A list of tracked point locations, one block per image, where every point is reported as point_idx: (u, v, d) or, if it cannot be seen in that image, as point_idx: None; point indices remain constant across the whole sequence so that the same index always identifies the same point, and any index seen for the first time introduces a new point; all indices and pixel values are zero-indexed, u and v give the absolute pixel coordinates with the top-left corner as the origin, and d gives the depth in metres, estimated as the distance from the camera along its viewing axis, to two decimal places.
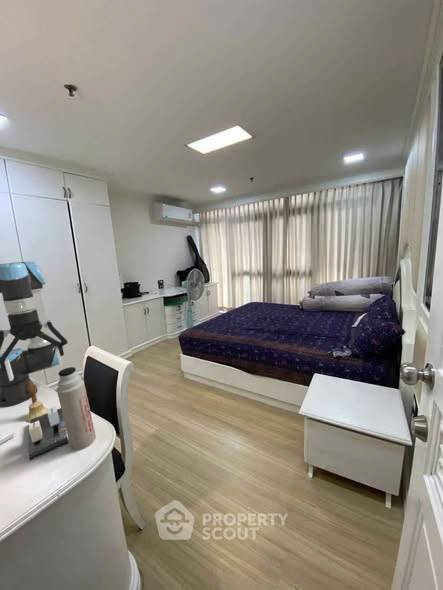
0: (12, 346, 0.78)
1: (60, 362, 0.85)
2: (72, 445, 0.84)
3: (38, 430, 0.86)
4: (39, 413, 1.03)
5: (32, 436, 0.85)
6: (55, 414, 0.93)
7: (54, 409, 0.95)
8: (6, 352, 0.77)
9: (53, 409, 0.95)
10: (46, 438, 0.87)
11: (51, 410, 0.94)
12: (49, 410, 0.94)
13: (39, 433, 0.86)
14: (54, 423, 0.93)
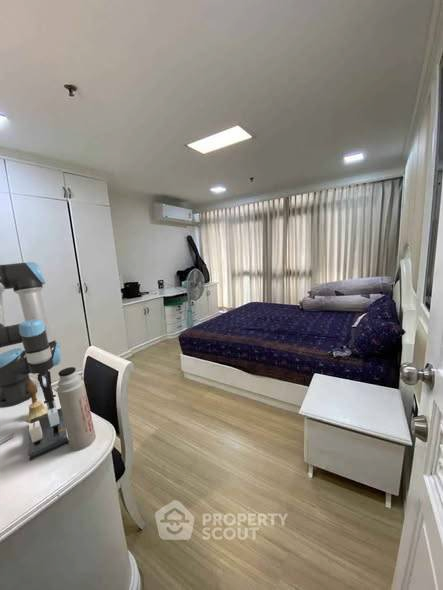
0: None
1: None
2: (72, 445, 0.84)
3: (38, 430, 0.86)
4: (39, 413, 1.03)
5: (32, 436, 0.85)
6: (55, 414, 0.93)
7: (54, 409, 0.95)
8: None
9: (53, 409, 0.95)
10: (46, 438, 0.87)
11: (51, 410, 0.94)
12: (49, 410, 0.94)
13: (39, 433, 0.86)
14: (54, 423, 0.93)
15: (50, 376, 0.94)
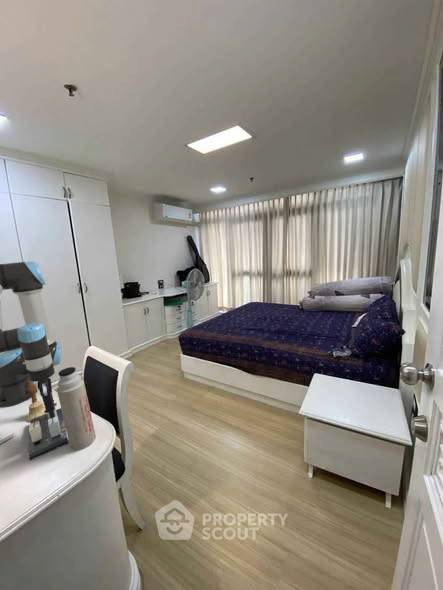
0: None
1: None
2: (72, 445, 0.84)
3: (38, 430, 0.86)
4: (39, 413, 1.03)
5: (32, 436, 0.85)
6: (56, 424, 0.87)
7: (55, 419, 0.89)
8: None
9: (54, 418, 0.89)
10: (46, 438, 0.87)
11: (52, 420, 0.88)
12: (50, 420, 0.89)
13: (39, 433, 0.86)
14: (55, 434, 0.88)
15: None
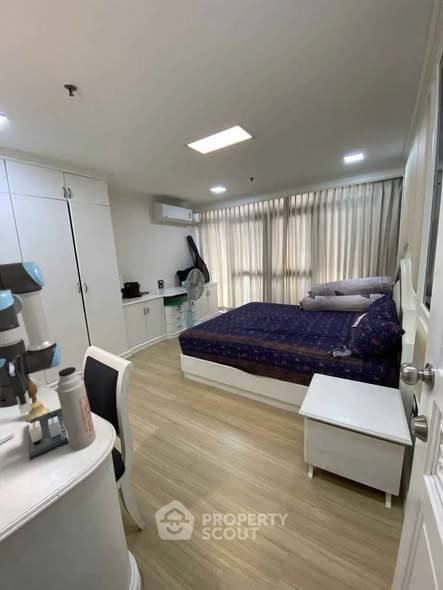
0: None
1: (20, 410, 0.77)
2: (72, 445, 0.84)
3: (38, 430, 0.86)
4: (39, 413, 1.03)
5: (32, 436, 0.85)
6: (56, 424, 0.87)
7: (55, 419, 0.89)
8: None
9: (54, 418, 0.89)
10: (46, 438, 0.87)
11: (52, 420, 0.88)
12: (50, 420, 0.89)
13: (39, 433, 0.86)
14: (55, 434, 0.88)
15: (20, 363, 0.75)
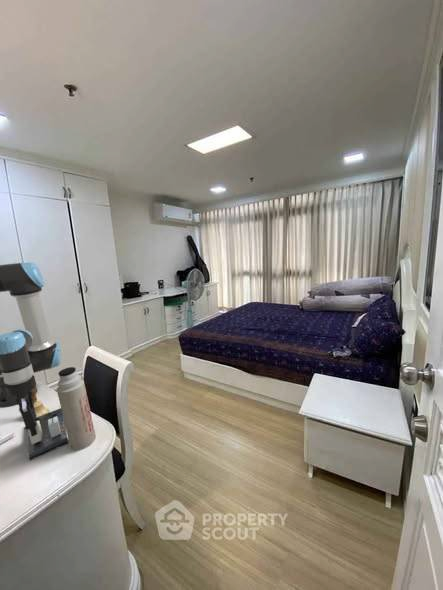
0: None
1: (31, 440, 0.83)
2: (72, 445, 0.84)
3: None
4: (39, 413, 1.03)
5: None
6: (56, 424, 0.87)
7: (55, 419, 0.89)
8: None
9: (54, 418, 0.89)
10: (46, 438, 0.87)
11: (52, 420, 0.88)
12: (50, 420, 0.89)
13: None
14: (55, 434, 0.88)
15: (32, 398, 0.81)
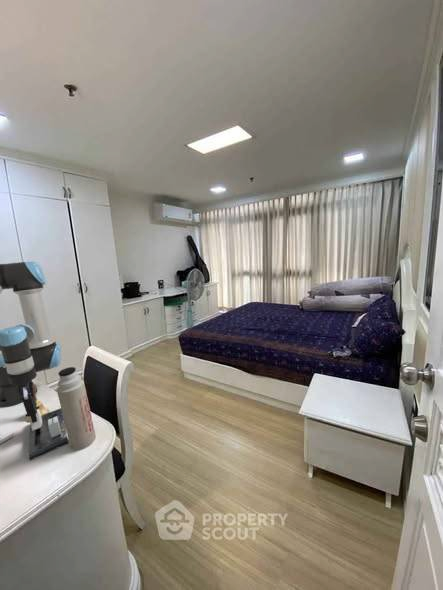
0: None
1: (31, 426, 0.90)
2: (72, 445, 0.84)
3: None
4: None
5: None
6: (56, 424, 0.87)
7: (55, 419, 0.89)
8: None
9: (54, 418, 0.89)
10: (46, 438, 0.87)
11: (52, 420, 0.88)
12: (50, 420, 0.89)
13: None
14: (55, 434, 0.88)
15: (32, 387, 0.88)
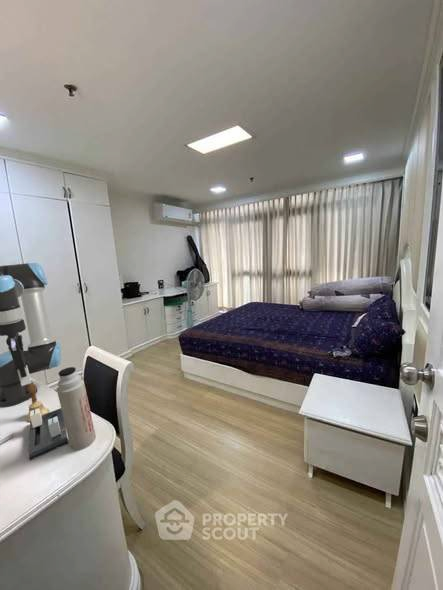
0: None
1: (20, 382, 0.87)
2: (72, 445, 0.84)
3: (38, 416, 0.94)
4: None
5: (33, 422, 0.93)
6: (56, 424, 0.87)
7: (55, 419, 0.89)
8: None
9: (54, 418, 0.89)
10: (46, 438, 0.87)
11: (52, 420, 0.88)
12: (50, 420, 0.89)
13: (39, 419, 0.94)
14: (55, 434, 0.88)
15: (21, 340, 0.84)
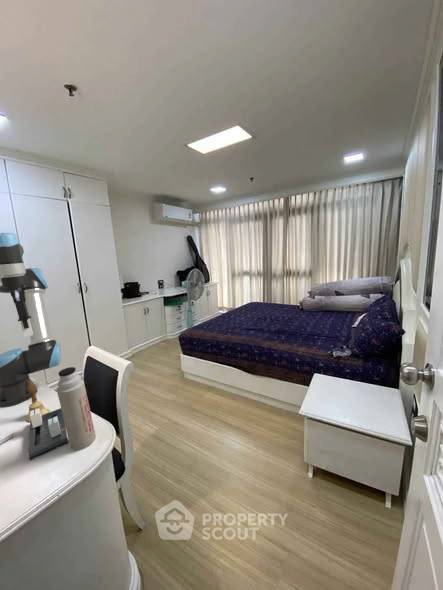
0: None
1: None
2: (72, 445, 0.84)
3: (38, 416, 0.94)
4: None
5: (33, 422, 0.93)
6: (56, 424, 0.87)
7: (55, 419, 0.89)
8: None
9: (54, 418, 0.89)
10: (46, 438, 0.87)
11: (52, 420, 0.88)
12: (50, 420, 0.89)
13: (39, 419, 0.94)
14: (55, 434, 0.88)
15: (24, 293, 0.92)
